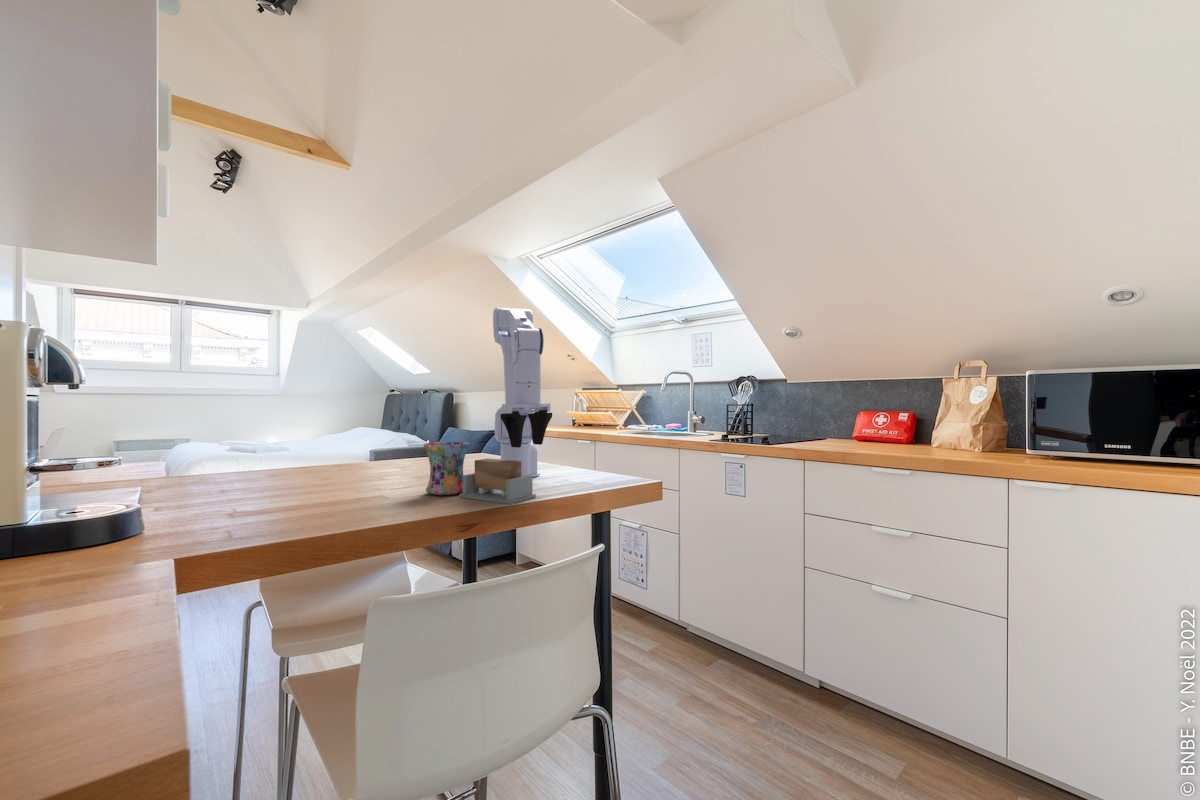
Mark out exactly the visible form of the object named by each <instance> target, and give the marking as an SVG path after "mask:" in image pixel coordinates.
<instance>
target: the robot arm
mask: <svg viewBox="0 0 1200 800" xmlns="http://www.w3.org/2000/svg"><path fill="white" fill-rule="evenodd" d="M492 312H493V313H492V327H493V338H494V342H495V343H496V344H498V345H500V347H501V350H502V355H503V372H504V373H503V374H504V399H505V400H504V401H505V402H504V403H502V404H501V407H500V408H498V409H497V410H496V412H495V416H494V418H495V419H494V438H495V440H496V441H497V442H499V443H500V459H502V460H514V461H521V477H522V476H527V475H532V478H535V477H539V476H541V473H538V449H537V447H536V445H538V446H539V445H543V443H544V442H543V441H544V438H545V435H546V430H547V427H548V426H549V423H550V421H551V419H552V418H553V412H551V403H547V402H542V403H541V366H542V365H541V364H542V363H541V360H542V359H541V356H542V355H543V353H544V346H545V344H544V343H545V339H544V331H543V329H542V328H541V327H539V328H538V327H537V328H535V326H534V324H533V323H534V322H533V321H534V320H533V319H534V318H533V317H534V316H533V311H532V310H531V308H512V307H511V308H510V307H509V308H508V307H498V306H495V308H494V309H493V311H492Z"/></svg>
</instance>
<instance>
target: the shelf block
mask: <svg viewBox="0 0 1200 800" xmlns="http://www.w3.org/2000/svg"><path fill="white" fill-rule="evenodd" d="M474 473H475V487H478V488H487V489H495V490H503V491H506V480H508V479H513V478H517V477H521V461H514V460H502V459H501V458H500V459H499V458H498V459H497V458H490V457H489V458H487V457H486V458H482V459H481V458H480V459H475V460H474Z"/></svg>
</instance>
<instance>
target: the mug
mask: <svg viewBox="0 0 1200 800" xmlns="http://www.w3.org/2000/svg"><path fill="white" fill-rule="evenodd" d="M469 446H470V443H469V442H467V441H436V442H435V441H434V442H427V443H424V444H423V447H424V449H425V451H426V454H427V457H428V458H427V459H428V461H429V468H430V471H429V473H430V474H429V479H428V484H427V486H426V488H425V491H426V493H428V494H431V495H435V496H453V495H458V494H463V475H464V462H465V458H466V453H467V451H468V449H469Z"/></svg>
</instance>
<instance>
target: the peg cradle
mask: <svg viewBox="0 0 1200 800" xmlns="http://www.w3.org/2000/svg"><path fill="white" fill-rule="evenodd" d="M536 497H537V494H536V493H533V477H532V475H527V476H522V477H517V478H513V479H508V480H506V491H503V490H495V489H487V488H478V487H475V472H472V473H468V474H463V492H462V493H459V495H458V498H462V499H468V500H478V501H484V502H492V503H499V504H505V503H506V505H512V504H517V503H520V502H519V501H521V502H524V501H528V500H531V499H535V498H536ZM516 502H517V503H516Z"/></svg>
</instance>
